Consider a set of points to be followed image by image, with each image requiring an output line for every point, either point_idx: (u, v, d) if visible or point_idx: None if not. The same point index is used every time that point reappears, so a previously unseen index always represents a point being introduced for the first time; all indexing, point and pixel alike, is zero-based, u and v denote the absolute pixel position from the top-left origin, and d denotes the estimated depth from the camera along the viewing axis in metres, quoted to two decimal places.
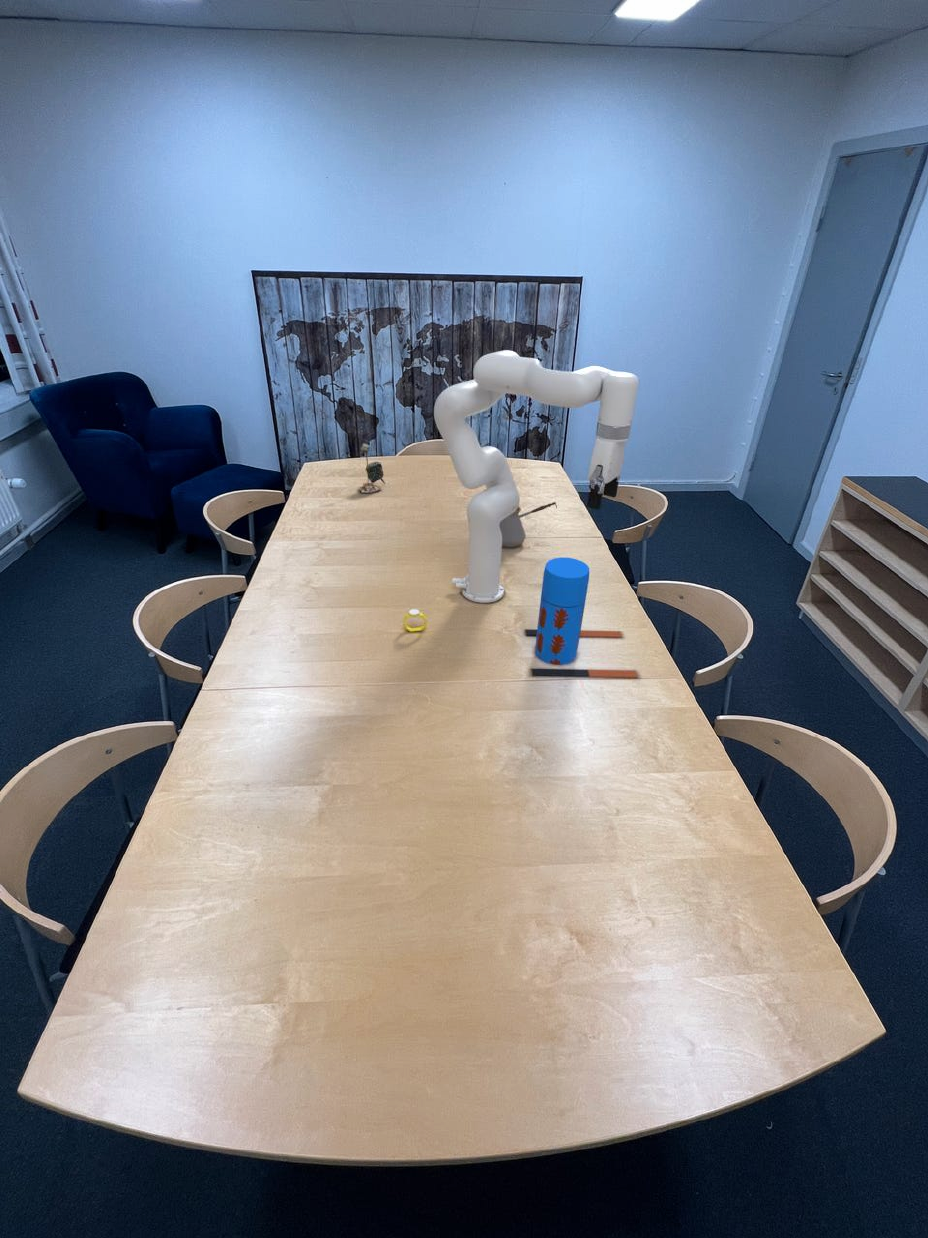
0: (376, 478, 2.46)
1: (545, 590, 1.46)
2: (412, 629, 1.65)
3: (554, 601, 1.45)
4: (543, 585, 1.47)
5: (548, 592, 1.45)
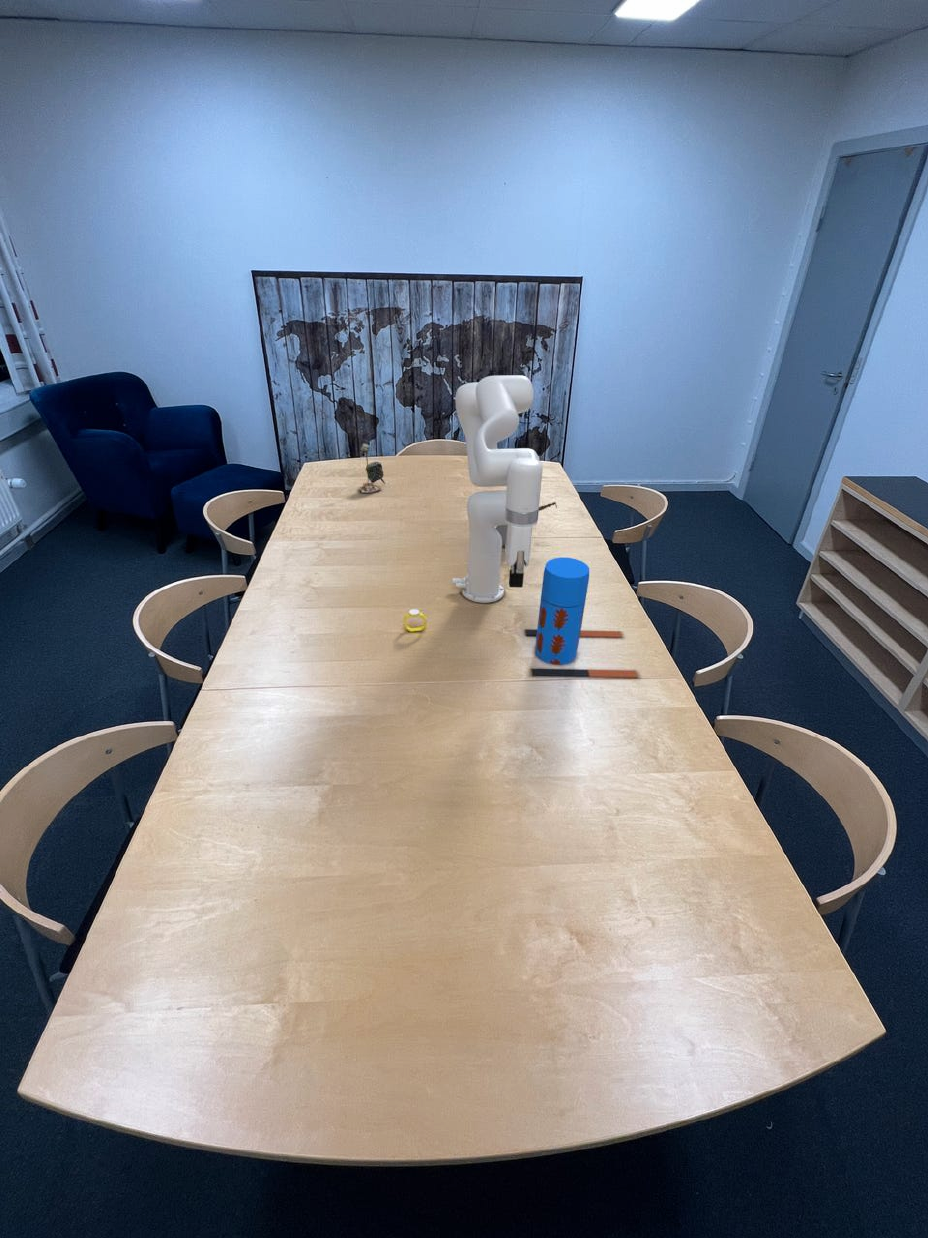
0: (376, 478, 2.46)
1: (545, 590, 1.46)
2: (412, 629, 1.65)
3: (554, 601, 1.45)
4: (543, 585, 1.47)
5: (548, 592, 1.45)
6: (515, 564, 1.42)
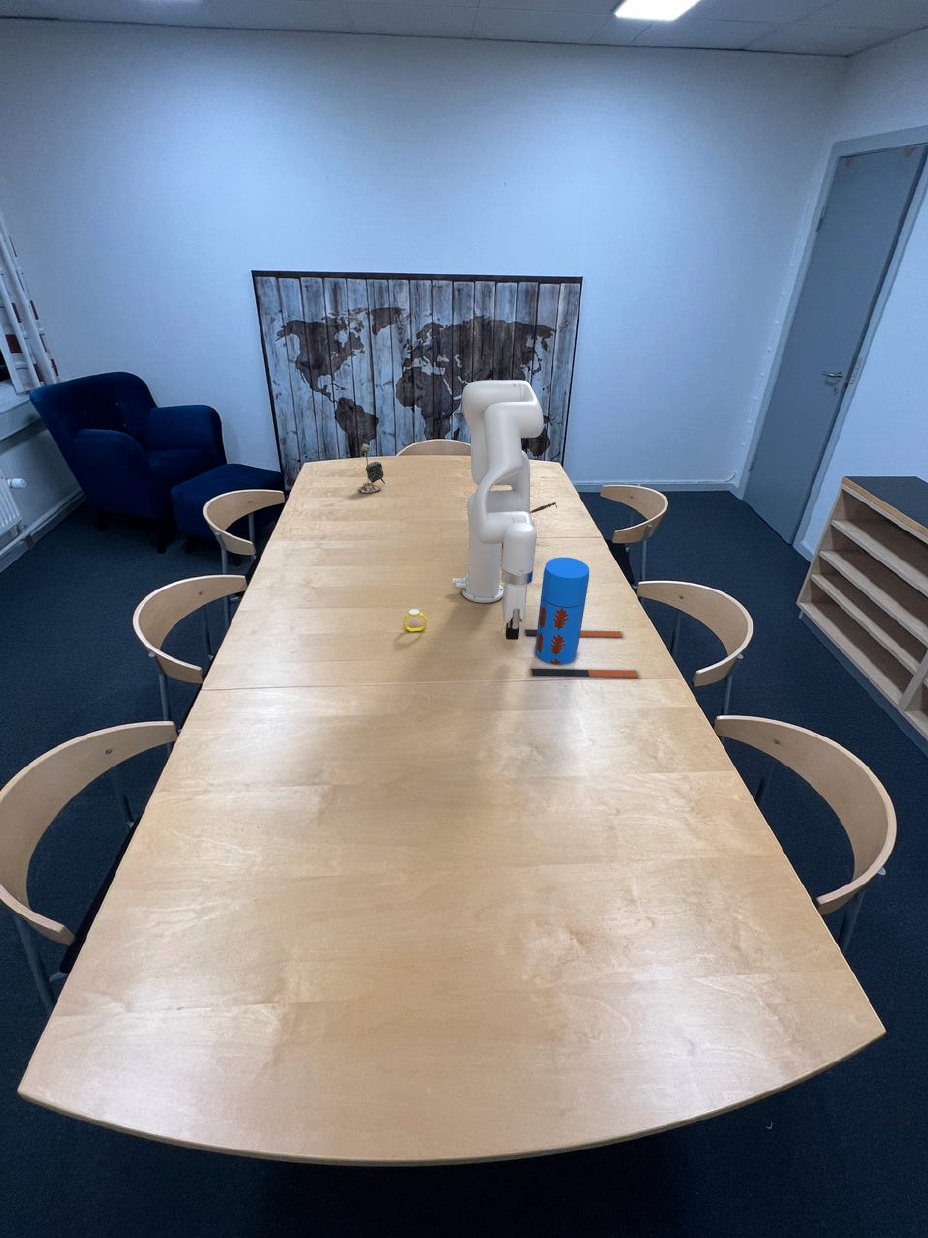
0: (376, 478, 2.46)
1: (545, 590, 1.46)
2: (412, 629, 1.65)
3: (554, 601, 1.45)
4: (543, 585, 1.47)
5: (548, 592, 1.45)
6: (511, 619, 1.51)
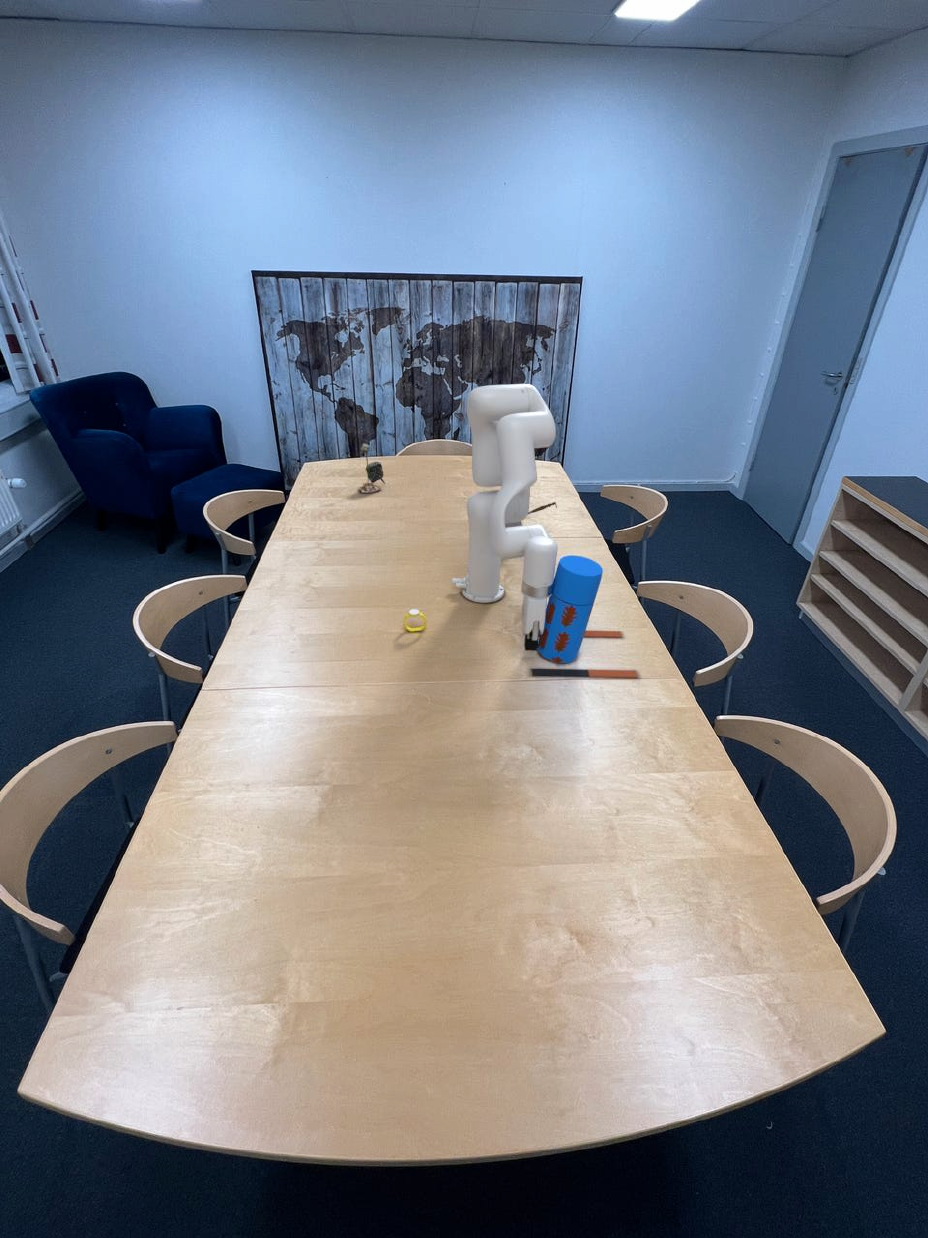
0: (376, 478, 2.46)
1: (557, 586, 1.46)
2: (412, 629, 1.65)
3: (565, 597, 1.45)
4: (555, 581, 1.47)
5: (559, 588, 1.45)
6: (530, 631, 1.52)
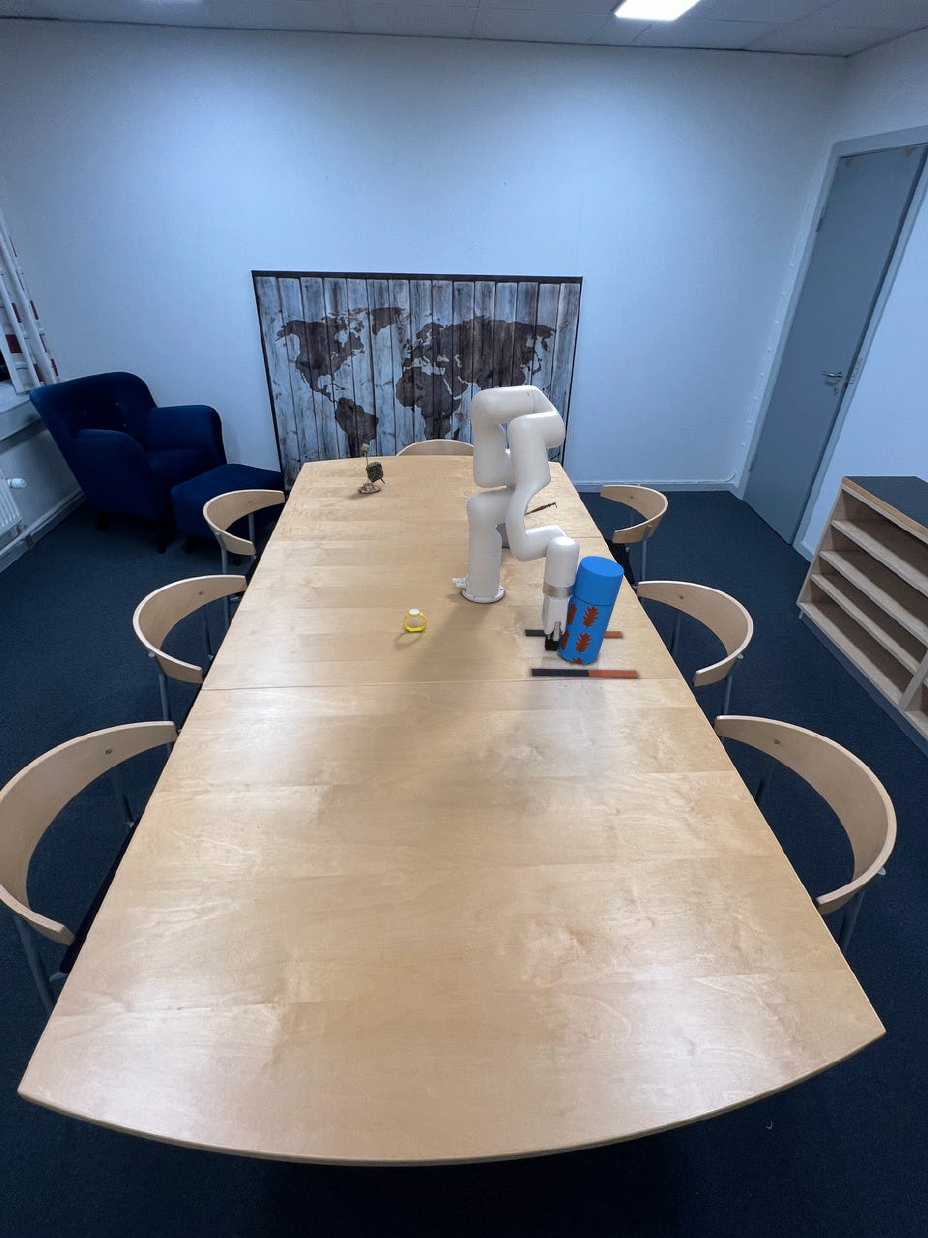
0: (376, 478, 2.46)
1: (578, 587, 1.46)
2: (412, 629, 1.65)
3: (586, 598, 1.45)
4: (576, 581, 1.47)
5: (581, 588, 1.45)
6: (551, 631, 1.52)
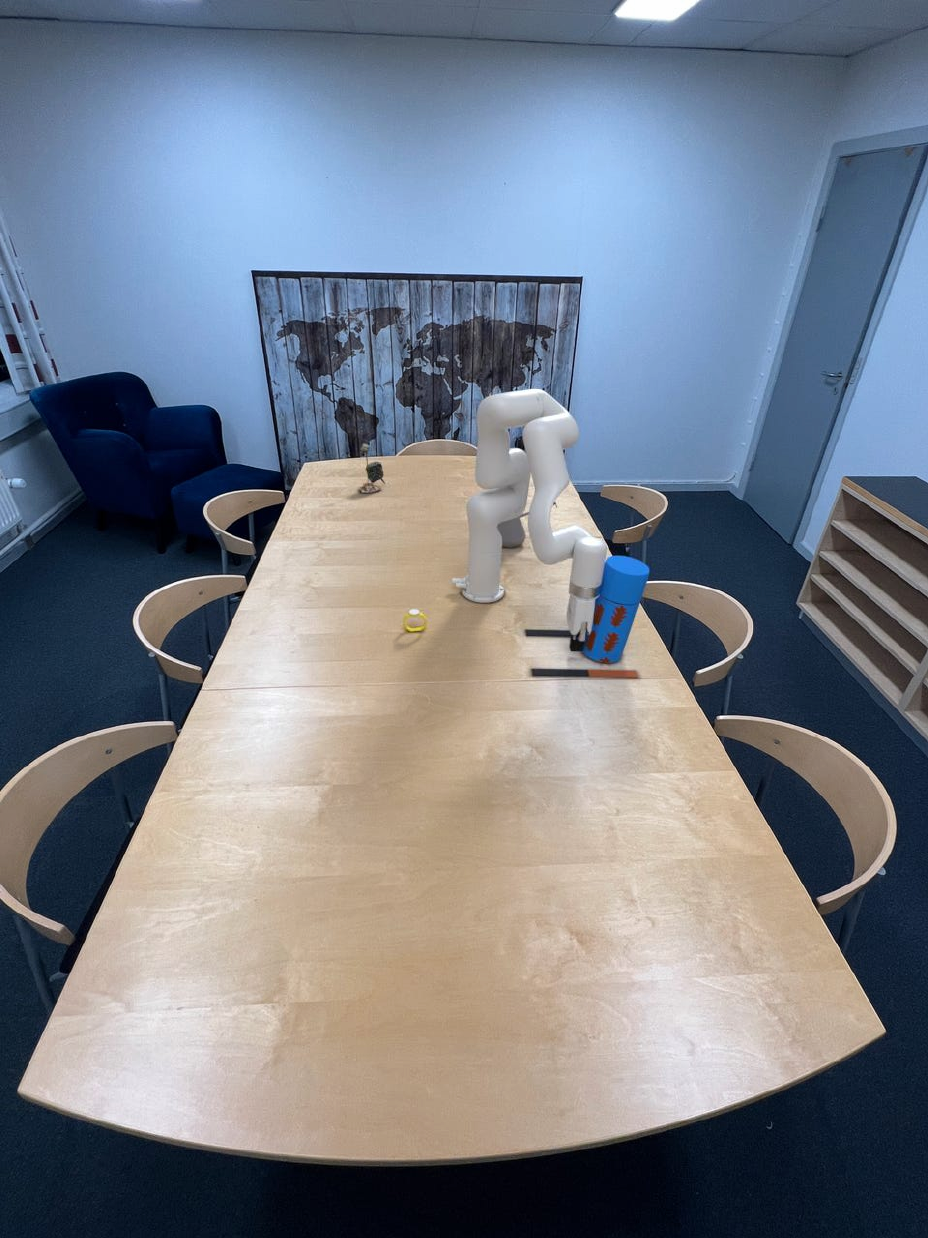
0: (376, 478, 2.46)
1: (605, 587, 1.46)
2: (412, 629, 1.65)
3: (615, 598, 1.45)
4: (603, 582, 1.47)
5: (609, 589, 1.46)
6: (577, 632, 1.52)
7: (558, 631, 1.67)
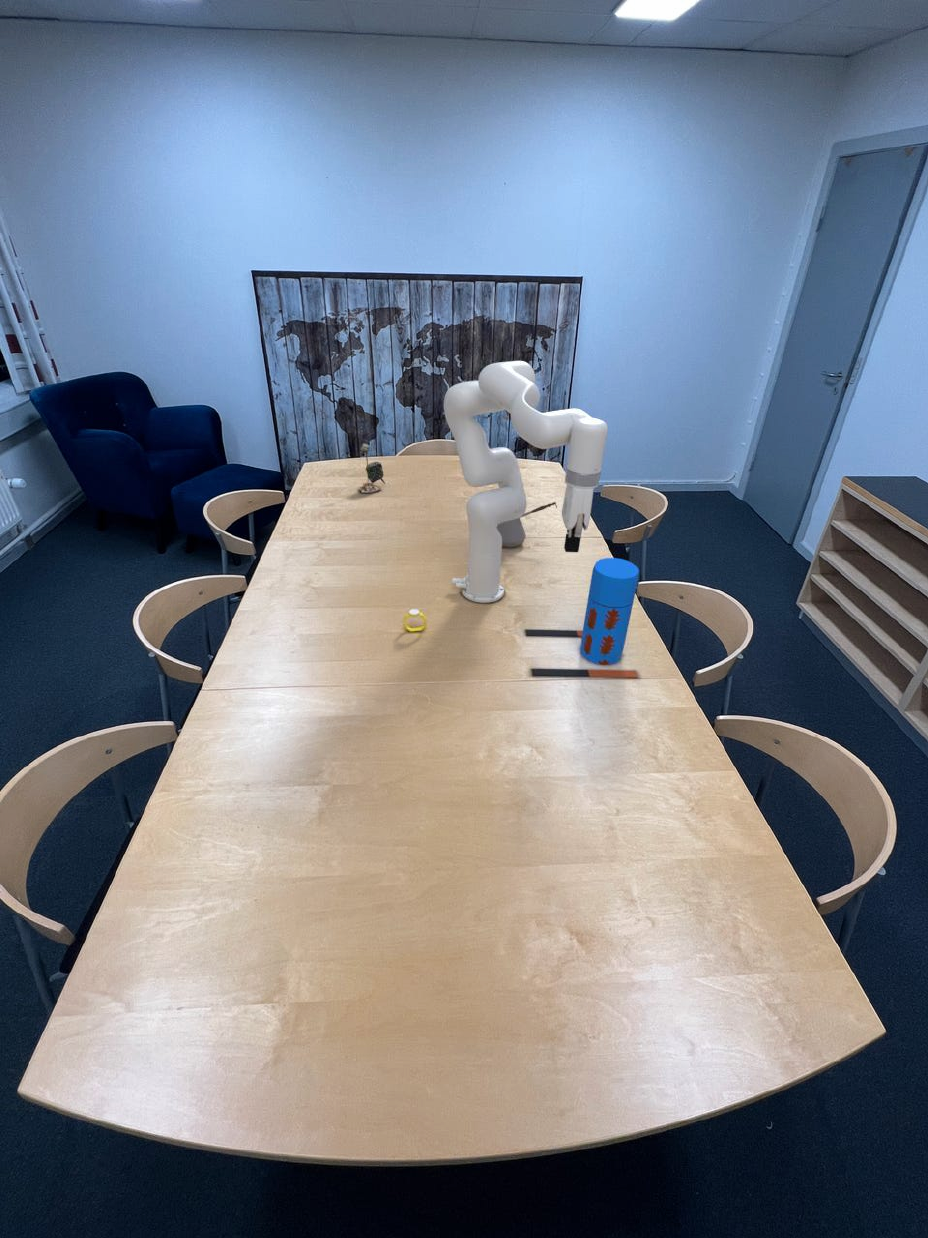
0: (376, 478, 2.46)
1: (596, 592, 1.46)
2: (412, 629, 1.65)
3: (606, 602, 1.45)
4: (593, 587, 1.47)
5: (599, 593, 1.46)
6: (573, 528, 1.40)
7: (558, 631, 1.67)
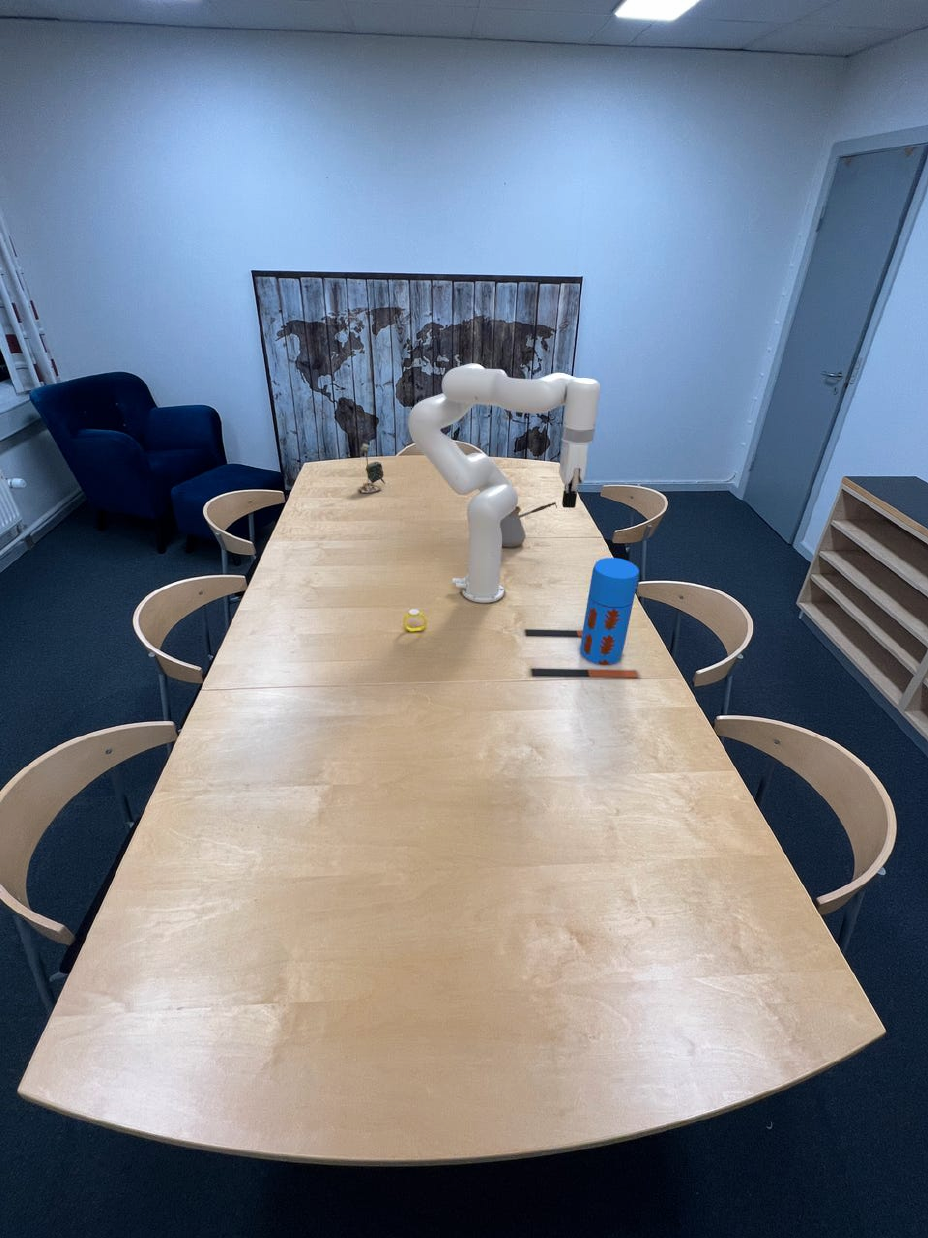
0: (376, 478, 2.46)
1: (596, 592, 1.46)
2: (412, 629, 1.65)
3: (606, 602, 1.45)
4: (593, 587, 1.47)
5: (599, 593, 1.46)
6: (570, 483, 1.51)
7: (558, 631, 1.67)
